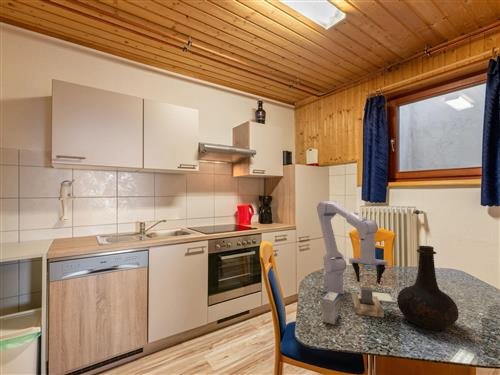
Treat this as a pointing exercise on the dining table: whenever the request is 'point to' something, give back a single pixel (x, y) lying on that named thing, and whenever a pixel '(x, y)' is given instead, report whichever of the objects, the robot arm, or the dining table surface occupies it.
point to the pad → (383, 297)
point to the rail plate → (367, 307)
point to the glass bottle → (427, 297)
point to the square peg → (366, 295)
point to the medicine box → (330, 307)
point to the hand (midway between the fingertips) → (368, 282)
